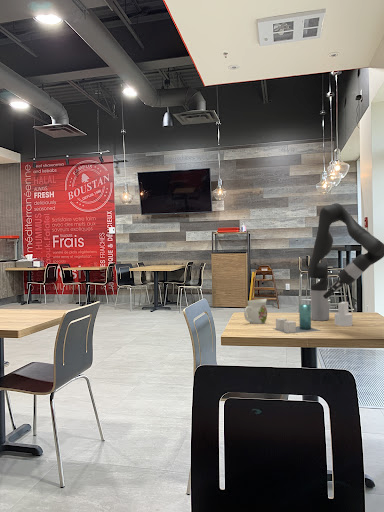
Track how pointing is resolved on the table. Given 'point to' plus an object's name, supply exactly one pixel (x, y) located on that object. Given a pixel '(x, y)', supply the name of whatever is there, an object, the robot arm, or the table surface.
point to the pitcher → (256, 311)
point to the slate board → (299, 330)
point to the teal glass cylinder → (305, 316)
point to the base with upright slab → (343, 315)
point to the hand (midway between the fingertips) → (326, 296)
